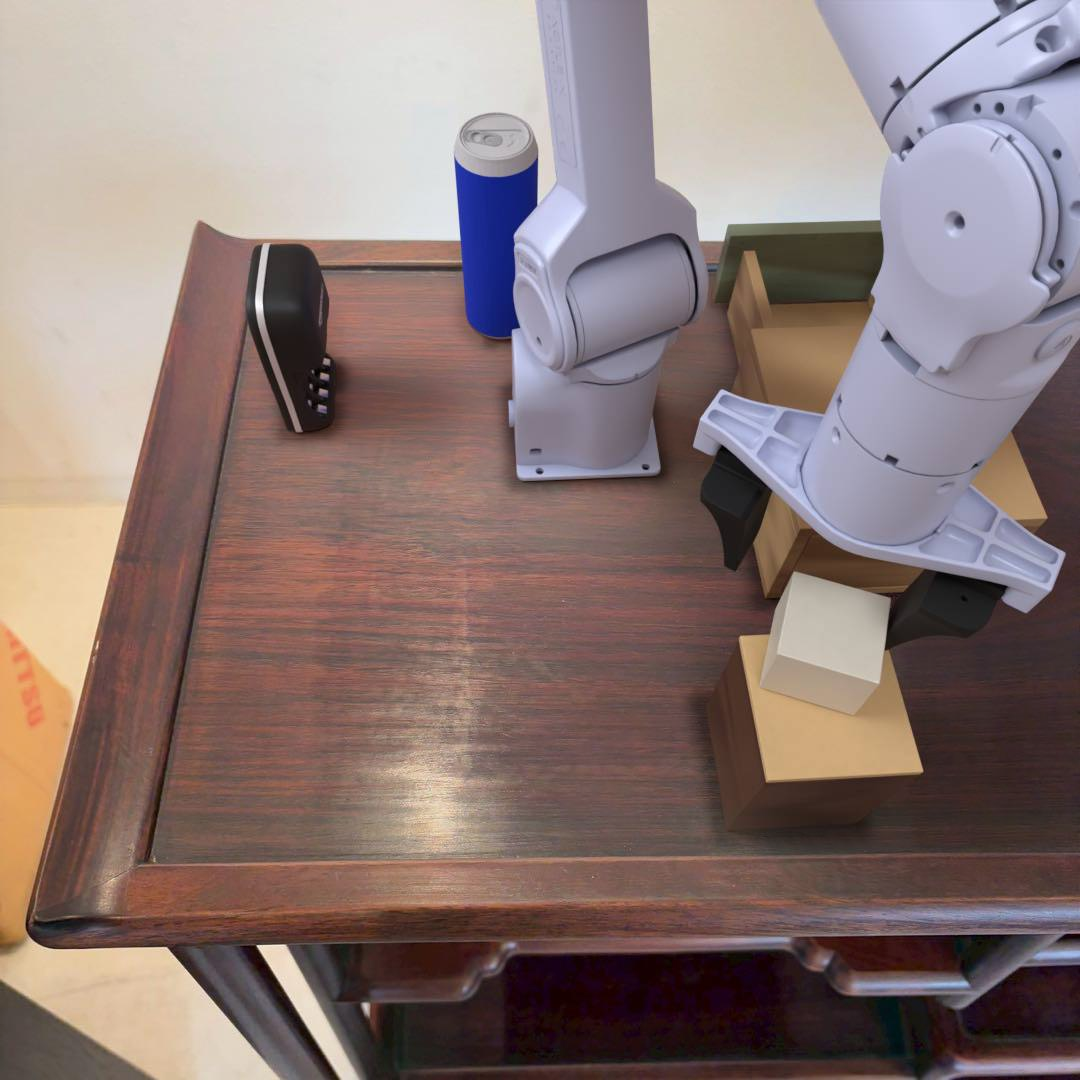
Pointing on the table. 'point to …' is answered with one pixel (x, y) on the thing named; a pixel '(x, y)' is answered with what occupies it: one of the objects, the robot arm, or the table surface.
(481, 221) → the beverage can
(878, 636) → the block
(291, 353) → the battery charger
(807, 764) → the coaster
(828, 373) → the cabinet
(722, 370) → the table surface
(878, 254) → the drawer
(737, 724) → the stand
